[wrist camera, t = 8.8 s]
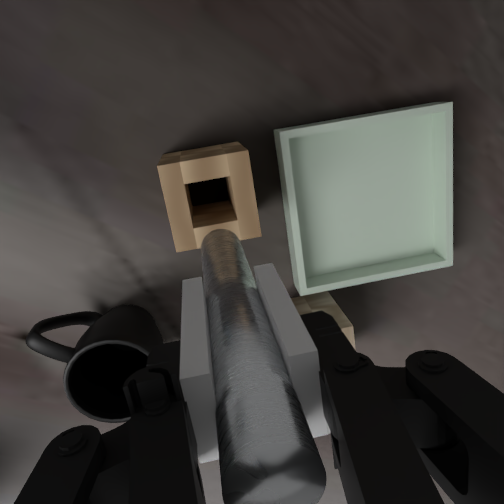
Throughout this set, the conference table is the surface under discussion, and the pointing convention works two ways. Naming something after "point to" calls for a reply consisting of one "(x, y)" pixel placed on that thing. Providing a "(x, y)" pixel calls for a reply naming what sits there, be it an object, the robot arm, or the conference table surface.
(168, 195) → the oak block
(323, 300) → the maple block
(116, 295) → the conference table surface
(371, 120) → the sage tray
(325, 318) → the robot arm
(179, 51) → the conference table surface
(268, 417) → the steel pin
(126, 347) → the mug
